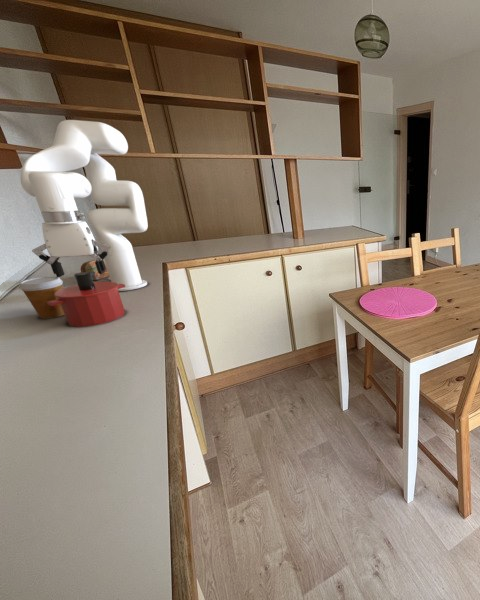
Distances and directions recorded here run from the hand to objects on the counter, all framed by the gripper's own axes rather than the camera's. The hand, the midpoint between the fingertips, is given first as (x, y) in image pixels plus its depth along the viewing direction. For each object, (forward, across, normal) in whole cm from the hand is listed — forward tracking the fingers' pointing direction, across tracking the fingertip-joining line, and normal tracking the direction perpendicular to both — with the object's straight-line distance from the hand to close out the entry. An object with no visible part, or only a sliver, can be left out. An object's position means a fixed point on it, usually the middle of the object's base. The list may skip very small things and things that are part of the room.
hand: (82, 274), depth 97 cm
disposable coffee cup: (+15, +14, -9) cm, 22 cm away
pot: (+15, 0, 0) cm, 15 cm away
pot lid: (+5, 0, 0) cm, 5 cm away
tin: (+14, +14, -54) cm, 58 cm away
